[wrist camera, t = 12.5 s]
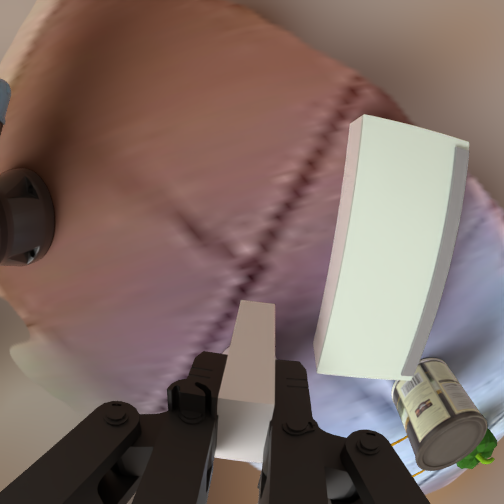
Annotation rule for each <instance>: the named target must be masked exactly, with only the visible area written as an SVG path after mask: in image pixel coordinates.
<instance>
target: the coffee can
mask: <svg viewBox="0 0 504 504" xmlns="http://www.w3.org/2000/svg"><path fill="white" fill-rule="evenodd" d="M392 400H393V402H394V403H395V406H396V408H397V410H398V413H399V415H400V418H401V420H402V423H403V425H404V428H405V430H406V433H407V435H408V438H409V441H410V443H411V446H412V448H413V451H414V454H415V458H416V463H417V465H418V467H420V468H421V469H423V470H427V471H434V470H440V469H443V468H446V467H449V466H451V465H453V464H455V463H457V462H459V461H460V460H462V459H463V458H465V457H466V456H467V455H469V454H470V453H471V452H472V451H473V450H474V449H475V448H476V447H477V446H478V445H479V444H480V442H481V441H482V439H483V438H484V436H485V434H486V431H487V421H486V419H485V418H484V417H483V415H481V413H480V412H479V410H478V409H477V407H476V406H475V405H474V403H473V402H472V400H471V399H470V397H469V396H468V394H467V393H466V392H465V390H464V389H463V387H462V386H461V384H460V383H459V382H458V380H457V379H456V377H455V376H454V375H453V373H452V372H451V370H450V369H449V367H448V365H447V364H446V363H445V362H444V361H443V360H441V359H438V358H427V359H422V360H420V361H419V363H418V366H417V368H416V371H415V373H414V376H412V379H411V381H406V380H396V381H395V383H394V385H393V388H392Z"/></svg>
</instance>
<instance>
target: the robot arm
mask: <svg viewBox="0 0 504 504" xmlns="http://www.w3.org/2000/svg"><path fill="white" fill-rule="evenodd" d="M10 97H11V89H10V86H9V84H8V83H7V82H6V81H4V80H3V79H1V78H0V135H1V131H2V128H3V125H5V115H6V111H7V108H8V104H9V101H10ZM53 233H54V209H53V204H52V200H51V196H50V194H49V191H48V189H47V187H46V185H45V183H44V182H43V180H42V179H41V178H40V177H39V176H38V175H37V174H36V173H35V172H33V171H31V170H29V169H25V168H20V169H11V170H8V171H5V172H4V173H2V174H0V265H2V266H26V265H29V264H31V263H33V262H36V261H38V260H39V259H41V258H42V257H43V256H44V255H45V254H46V252H47V251H48V249H49V247H50V244H51V242H52V238H53ZM167 398H168V411H167V412H163V413H160V414H139V413H138V411H137V410H136V408H135V407H133V406H132V405H130V404H128V403H125V402H122V401H111V402H107V403H104V404H102V405H101V406H99V407H97V408H96V409H95V410H94V411H93V412H92V413H91V414H90V415H88V416H87V417H86V418H85V419H84V420H83V421H82V422H80V423H79V424H78V425H77V426H76V427H75V428H74V429H73V430H71V431H70V432H69V433H68V434H67V435H66V436H65V437H64V438H62V439H61V440H60V441H59V442H58V443H57V444H55V445H54V446H53V447H52V448H51V449H50V450H49V451H47V453H45V454H44V455H43V456H42V457H40V458H39V459H38V460H37V461H36V462H35V463H34V464H32V465H31V466H30V467H29V468H28V469H27V470H25V471H24V472H23V473H22V474H21V475H20V476H19V477H17V478H16V479H15V480H14V481H13V482H12V483H10V484H9V485H8V486H7V487H6V488H5V489H3V490H2V491H1V492H0V504H127V502H128V501H129V500H130V499H131V497H132V496H133V495H134V494H135V492H136V494H135V496H134V499H133V502H132V504H206V502H207V498H208V493H209V488H210V483H211V477H212V473H213V461H214V456H215V457H216V458H222V459H230V460H238V461H246V462H256V463H262V461H263V466H262V471H261V475H260V480H259V483H258V488H259V501H258V504H430V502H429V501H428V499H427V498H426V496H425V495H424V493H423V492H422V490H421V489H420V487H419V486H418V484H417V483H416V481H415V480H414V478H413V477H412V475H411V474H410V472H409V471H408V469H407V468H406V466H405V465H404V463H403V462H402V461H401V459H400V458H399V456H398V455H397V453H396V452H395V450H394V449H393V447H392V446H391V444H390V443H389V441H388V440H387V439H386V438H385V437H384V436H383V435H381V434H379V433H377V432H376V431H371V430H358V431H355V432H353V433H351V434H350V435H349V436H348V437H347V438H344V437H340V436H336V435H332V434H330V433H327V432H325V431H323V430H322V429H320V428H319V426H318V424H317V422H316V421H315V420H314V419H313V417H312V411H311V403H310V395H309V389H308V381H307V372H306V369H305V368H304V367H303V365H302V364H301V363H300V362H298V361H286V360H276V359H275V304H270V303H262V302H253V301H245V300H241V302H240V307H239V311H238V315H237V319H236V324H235V328H234V332H233V336H232V340H231V345H230V349H229V353H228V355H226V354H219V353H212V352H205V351H203V352H202V353H201V354H199V355H198V356H197V357H196V358H195V359H194V362H193V364H192V368H191V370H190V372H189V376H188V377H187V379H182V380H178V381H176V382H174V383H172V384H171V385H170V386H169V387H168V389H167Z"/></svg>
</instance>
